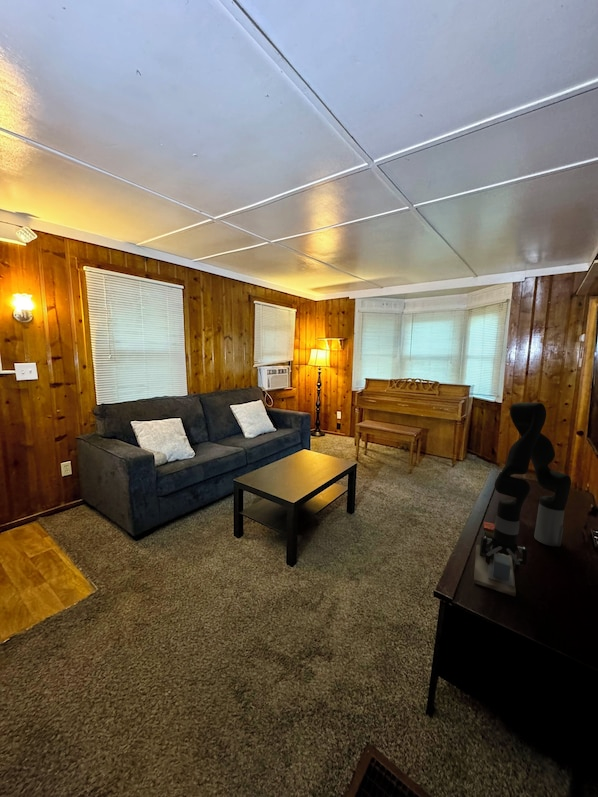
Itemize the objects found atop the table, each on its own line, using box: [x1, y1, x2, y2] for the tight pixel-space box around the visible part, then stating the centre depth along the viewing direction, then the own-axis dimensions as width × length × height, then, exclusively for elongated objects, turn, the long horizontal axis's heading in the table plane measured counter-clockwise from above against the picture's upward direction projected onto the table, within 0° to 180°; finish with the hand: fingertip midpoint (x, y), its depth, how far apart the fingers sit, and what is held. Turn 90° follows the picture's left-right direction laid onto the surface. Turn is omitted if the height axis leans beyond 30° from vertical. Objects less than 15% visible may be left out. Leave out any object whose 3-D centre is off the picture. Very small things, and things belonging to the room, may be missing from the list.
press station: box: [473, 529, 517, 598], centre depth 126 cm, size 13×25×10 cm, turn 150°
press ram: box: [482, 521, 495, 538], centre depth 133 cm, size 6×6×7 cm
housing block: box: [493, 553, 511, 581], centre depth 122 cm, size 5×6×6 cm
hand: (501, 567), depth 122 cm, fingers open, 8 cm apart
